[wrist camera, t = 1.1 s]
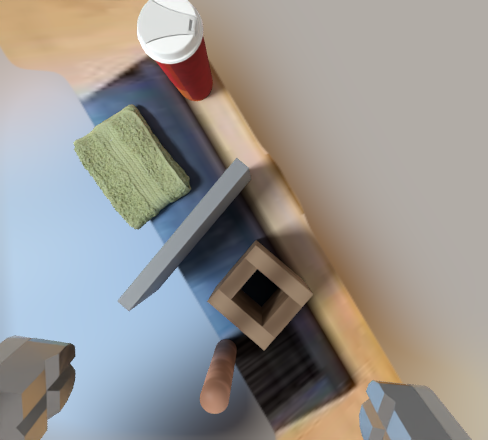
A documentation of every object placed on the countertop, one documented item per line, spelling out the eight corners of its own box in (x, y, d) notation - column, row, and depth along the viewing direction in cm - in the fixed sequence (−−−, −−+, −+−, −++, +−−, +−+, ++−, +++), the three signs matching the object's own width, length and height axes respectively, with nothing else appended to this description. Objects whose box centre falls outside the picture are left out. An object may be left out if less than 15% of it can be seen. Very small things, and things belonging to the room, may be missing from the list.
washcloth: (135, 103, 45) (126, 94, 42) (198, 187, 45) (193, 185, 41) (75, 150, 46) (61, 145, 42) (136, 234, 45) (127, 235, 42)
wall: (251, 179, 44) (248, 168, 34) (157, 290, 45) (128, 311, 35) (241, 171, 44) (236, 157, 34) (148, 282, 45) (117, 301, 35)
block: (303, 280, 43) (313, 294, 35) (263, 326, 44) (264, 350, 36) (256, 239, 44) (255, 245, 36) (216, 286, 44) (207, 301, 36)
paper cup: (221, 62, 44) (204, -10, 30) (216, 110, 44) (196, 60, 30) (174, 58, 44) (135, -15, 30) (169, 105, 44) (128, 53, 30)
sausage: (241, 349, 44) (234, 398, 32) (227, 364, 44) (215, 419, 32) (225, 334, 44) (212, 378, 32) (211, 350, 44) (193, 400, 32)
